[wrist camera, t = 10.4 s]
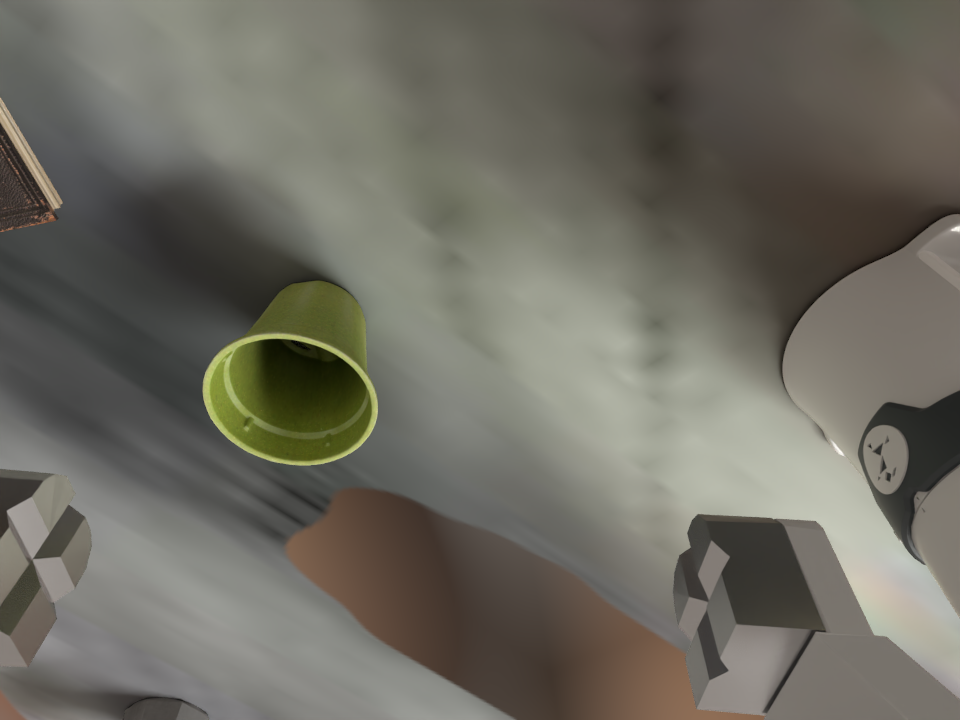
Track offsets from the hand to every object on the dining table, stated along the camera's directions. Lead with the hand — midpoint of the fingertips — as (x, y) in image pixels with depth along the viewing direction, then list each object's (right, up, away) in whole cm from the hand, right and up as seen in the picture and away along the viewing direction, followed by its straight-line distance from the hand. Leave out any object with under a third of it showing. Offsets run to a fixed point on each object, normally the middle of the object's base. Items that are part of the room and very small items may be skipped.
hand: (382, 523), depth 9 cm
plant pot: (-9, +5, +36) cm, 37 cm away
